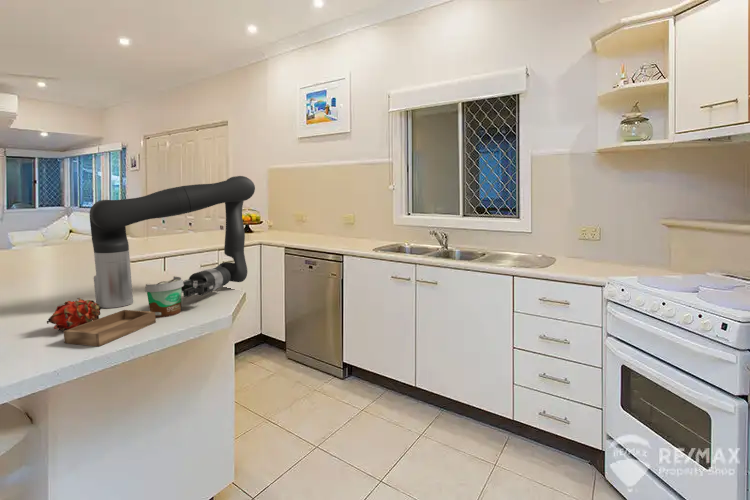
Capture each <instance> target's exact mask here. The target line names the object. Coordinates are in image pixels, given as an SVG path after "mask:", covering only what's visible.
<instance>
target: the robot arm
mask: <svg viewBox="0 0 750 500" xmlns="http://www.w3.org/2000/svg"><path fill="white" fill-rule="evenodd" d="M255 191H256V185H255V183H254V182H253V181H252V179H250V178H248V177H247V176H243V175H237V176H231V177H228V178H227V179H225V180H223V181H218V182H215V183H214V182H213V183H200V184H198V183H197V184H190V185H189V184H188V185H180V186H176V187H169V188H165V189H161V190H158V191H156V192H155V191H154V192H152V193H150V194H147V195H143V196H139V197H133V198H132V197H131V198H124V199H123V198H122V199H103V200H99V201H96V202H95V203H93V204H92V206H91V208H90V209H89V224H90V225H89V226H90V234H91V243H92V248H93V256H94V265H95V267H94V268H95V275H94V276H93V284H94V296H95V303H97V304H99V306H100V308H101V309H102V308H103V309H106V308H107V309H110V308H111V309H114V308H120V307H124V306H125V307H126V306H128V305H132V304H133V303H134V295H133V283H132V271H131V258H130V257H131V256H130V246H129V244H130V243H129V240H128V236H127V229H126V226H130V225H134V224H137V223H140V222H143V221H147V220H155V219H162V218H163V219H164V218H169V217H175V216H181V215H185V214H189V213H193V212H196V211H202V210H203V209H204V210H205V209H207V208H210V207H214V206H216V205H220V204H224V206H225V207H224V208H225V234H224V235H225V236H224V246H223V247H224V249H223V250H224V251H223V253H224V256H227V257H229V258H232V259H233V261H234V262H227V261H225V262H220V264H218V265H217V266H216V267H213V268H207V269H204V270H201V271H198V272H195V273H192V274H191V275H190V276H189V277H188V279H185V280H183V284H184V286H183V287H182V288H181V294H182V293H183V294H182V296H183V297H184V298H188V297H190V296H203V295H206V294H208V293H210V292H213V291H215V290H217V289H218V288H221V287H223V286H226V285H227V284H229V283H230V282H233V283H242V282H244V281H245V280H246V279H247V276H248V266H247V261H246V257H245V242H246V241H245V239H246V234H245V225H244V220H243V208H244V207H243V206H244V202H245V201H248V200H249V199H251V197H253V195H254V194H255Z"/></svg>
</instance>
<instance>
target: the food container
mask: <svg viewBox="0 0 750 500" xmlns="http://www.w3.org/2000/svg"><path fill="white" fill-rule="evenodd" d="M183 281H184V280H183V279H182V277H180V276H175V275H174V276H173V279H171V280H165V281H164V280H163V281H160V282H157V283H154V284H150V283H149V284H148V283H147V284H145V288H144V292H145V293H146V294H147V295H146V296H147V302H148V307H149V312H155V317H156V319H160V318H168V317H172V316H176V315H178V314H180V313H181V312H182V293H181V288H182V287H183V286H184V284H183Z"/></svg>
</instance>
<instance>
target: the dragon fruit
mask: <svg viewBox="0 0 750 500" xmlns="http://www.w3.org/2000/svg"><path fill="white" fill-rule="evenodd" d="M76 299H77V300H75V301H71V300H66V301H65V302H64V304H62V305H58V306H57V307H56V309H55V311H54V312H53V313H52V314H51V316H50V317H48V319H47V321H46V324H49V323H50V324H52V325H54V326H53V330H58V332H59V331H60V332H61V331H65V330H68V329H71V328H74V327H76V326H79V325H82V324H85V323H88V322H91V321H94V320H97V319H99V318H100V317H99V316H101V309H102V307H100V306H99V304H97V303H96V302H95V300H94V299H86V300H84V299H82V298H80V297H79V298H76Z"/></svg>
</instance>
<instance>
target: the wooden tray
mask: <svg viewBox="0 0 750 500" xmlns="http://www.w3.org/2000/svg"><path fill="white" fill-rule="evenodd" d="M156 319H157V318H156V317H155V312H150V310H149V311H146V310H135V309H134V310H133V309H132V310H131V309H123V310H120V311H117V312H114V313H111V314H109V315H106V316H102V317H99V319H97V320H94V321H93V320H92V321H91V322H88V323H85V324H82V325H79V326H76V327H74V328H71V329H68V330H62V331H63V342H64V344H69V345H80V346H92V347H102V346H104V345H107V344H109V343H111V342H114V341H115V340H118V339H120V338H123V337H125V336H128V335H130V334H133V333H135V332H138V331H139V330H141V329H144V328H146V327H148V326H150V325H151V326H152V325H153V324H156V323H157V322H156V321H157V320H156Z"/></svg>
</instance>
